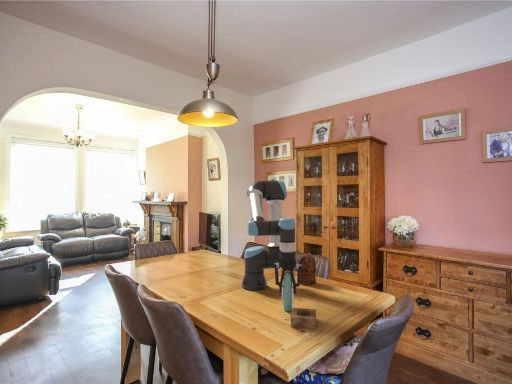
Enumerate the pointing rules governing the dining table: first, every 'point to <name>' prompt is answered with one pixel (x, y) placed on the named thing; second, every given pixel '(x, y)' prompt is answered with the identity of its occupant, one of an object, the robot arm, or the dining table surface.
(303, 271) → the wooden figurine
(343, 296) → the dining table surface
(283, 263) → the robot arm
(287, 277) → the teal long bar
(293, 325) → the brown open box
